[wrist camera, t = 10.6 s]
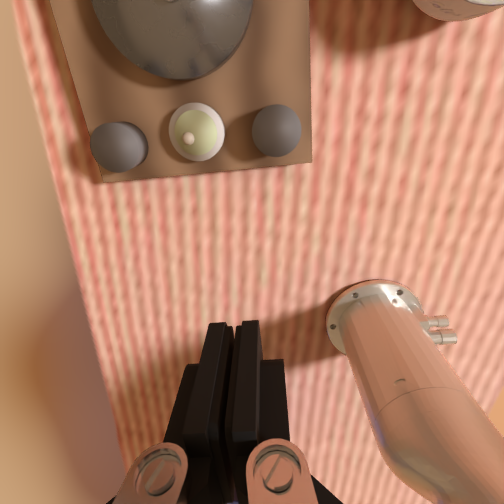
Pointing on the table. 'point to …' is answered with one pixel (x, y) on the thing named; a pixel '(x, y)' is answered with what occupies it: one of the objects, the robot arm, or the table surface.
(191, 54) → the silver metal dome
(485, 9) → the teacup
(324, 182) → the table surface
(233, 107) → the levelling base
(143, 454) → the robot arm
